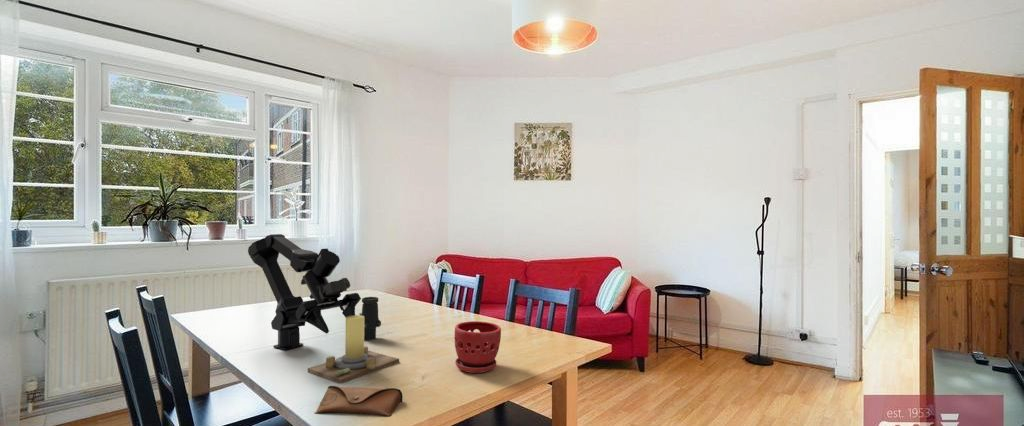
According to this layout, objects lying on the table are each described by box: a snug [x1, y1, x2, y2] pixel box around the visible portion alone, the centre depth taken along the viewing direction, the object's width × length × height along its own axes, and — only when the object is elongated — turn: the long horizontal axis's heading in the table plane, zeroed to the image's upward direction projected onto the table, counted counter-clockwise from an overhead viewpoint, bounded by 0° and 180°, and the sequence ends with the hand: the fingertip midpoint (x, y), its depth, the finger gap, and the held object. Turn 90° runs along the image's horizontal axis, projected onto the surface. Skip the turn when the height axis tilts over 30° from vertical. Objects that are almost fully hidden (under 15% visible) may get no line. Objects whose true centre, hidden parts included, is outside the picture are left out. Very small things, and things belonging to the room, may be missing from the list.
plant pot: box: [454, 320, 502, 374], centre depth 131 cm, size 13×13×12 cm
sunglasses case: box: [313, 385, 403, 417], centre depth 105 cm, size 18×7×7 cm
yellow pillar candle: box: [341, 314, 368, 364], centre depth 130 cm, size 7×7×12 cm
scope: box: [358, 296, 382, 341], centre depth 160 cm, size 8×14×10 cm
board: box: [307, 346, 400, 384], centre depth 130 cm, size 15×20×4 cm
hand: (341, 329), depth 134 cm, fingers open, 9 cm apart
